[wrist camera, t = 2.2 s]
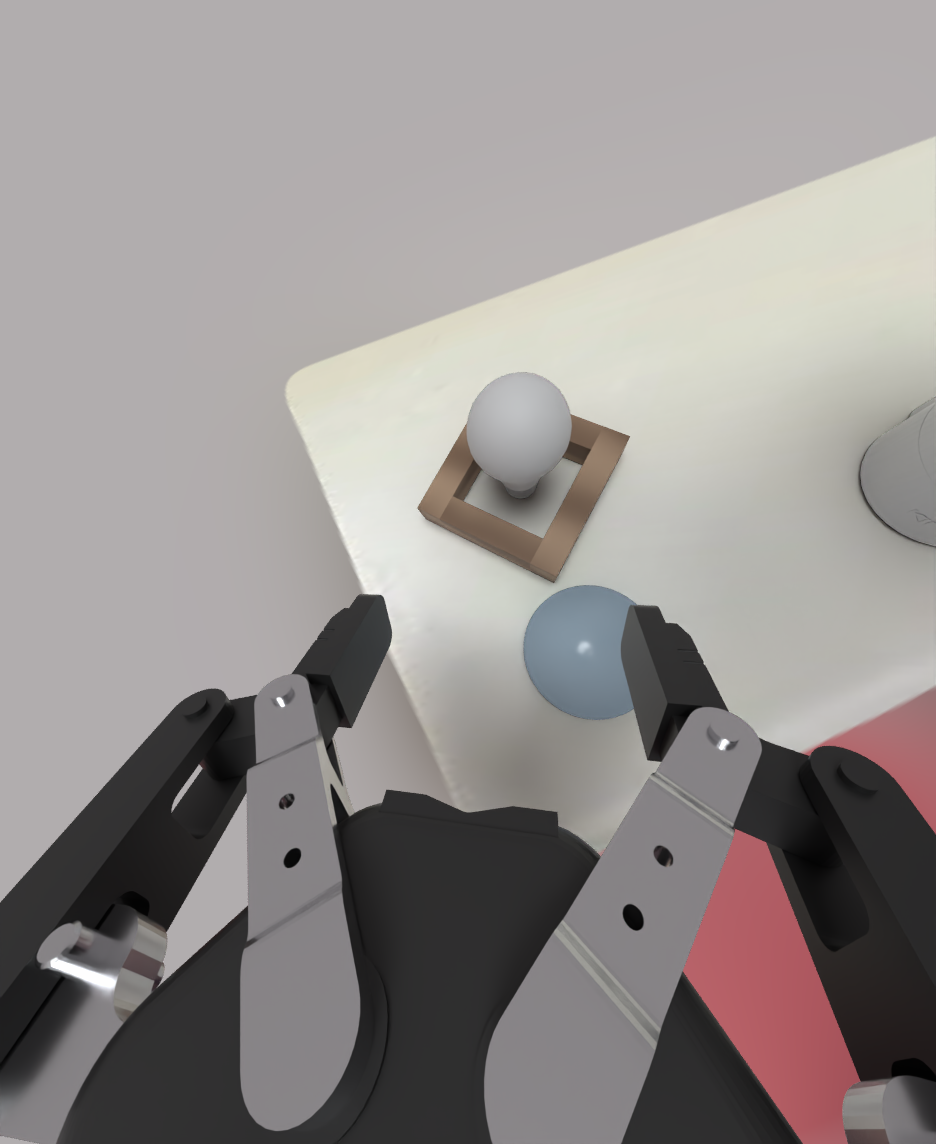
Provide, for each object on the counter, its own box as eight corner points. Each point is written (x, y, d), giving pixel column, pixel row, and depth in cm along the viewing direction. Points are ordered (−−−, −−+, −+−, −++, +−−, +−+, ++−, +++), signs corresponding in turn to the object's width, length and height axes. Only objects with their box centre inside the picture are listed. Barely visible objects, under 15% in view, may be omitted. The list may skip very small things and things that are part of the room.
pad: (558, 566, 27) (559, 564, 26) (677, 624, 25) (683, 623, 24) (502, 674, 26) (501, 675, 26) (620, 743, 24) (624, 747, 23)
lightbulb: (509, 538, 28) (497, 473, 18) (469, 479, 30) (436, 388, 19) (575, 496, 28) (603, 405, 18) (532, 439, 30) (533, 324, 19)
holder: (492, 404, 31) (489, 384, 29) (621, 454, 28) (630, 436, 26) (426, 519, 30) (417, 508, 28) (554, 582, 27) (556, 576, 25)
